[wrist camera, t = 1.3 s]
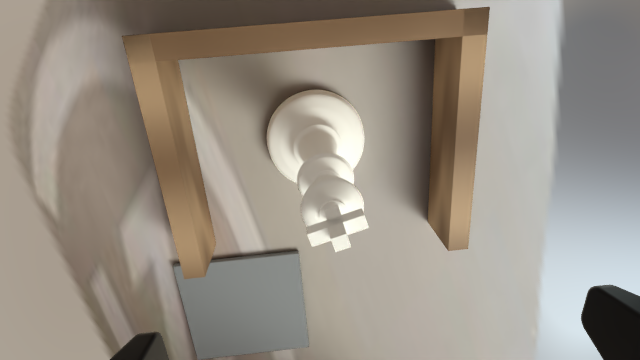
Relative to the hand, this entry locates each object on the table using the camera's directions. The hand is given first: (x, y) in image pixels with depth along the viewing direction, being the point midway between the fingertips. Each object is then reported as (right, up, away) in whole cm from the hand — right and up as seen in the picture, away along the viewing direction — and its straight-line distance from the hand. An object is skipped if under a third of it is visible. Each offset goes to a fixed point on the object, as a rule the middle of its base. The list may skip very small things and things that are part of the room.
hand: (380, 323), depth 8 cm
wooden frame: (-1, +5, +11) cm, 13 cm away
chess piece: (-2, +5, +12) cm, 13 cm away
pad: (-6, -5, +15) cm, 17 cm away
